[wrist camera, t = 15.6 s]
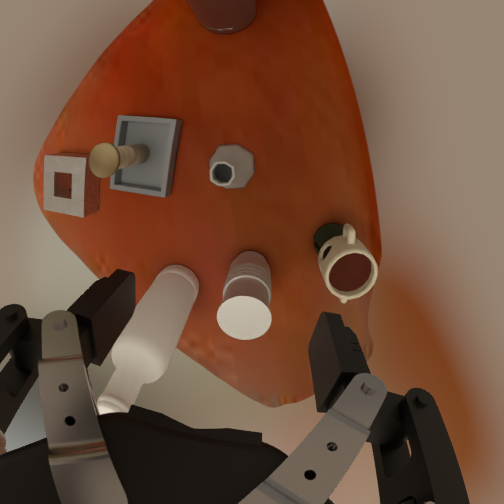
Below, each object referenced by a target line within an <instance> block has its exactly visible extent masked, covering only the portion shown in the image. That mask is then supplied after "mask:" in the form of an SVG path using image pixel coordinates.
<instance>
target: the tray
mask: <svg viewBox="0 0 504 504" xmlns="http://www.w3.org/2000/svg"><path fill="white" fill-rule="evenodd" d="M181 125H182V120H177V119H166V118H154V117H140V116H118V119H117V126H116V132H115V140H114V146H125V145H136V144H144V145H146V146H147V147H148V148H149V150H150V156H149V159H148V160H147V161H146V162H145V163H141V164H137V165H133V166H129V167H125V168H121V169H118V170H117V171H116V172H115V173H114V174H113V175H111V179H110V189H115V190H121V191H128V192H134V193H140V194H146V195H153V196H159V197H164V198H165V197H167V196H168V195H170V194H171V191H172V183H173V175H174V168H175V162H176V155H177V149H178V142H179V137H180V131H181Z"/></svg>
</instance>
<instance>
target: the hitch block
mask: <svg viewBox="0 0 504 504" xmlns="http://www.w3.org/2000/svg"><path fill="white" fill-rule="evenodd" d="M89 157H90V154H82V153H66V152H60V153H54V154H49V155H45V161H44V210H49V211H54V212H59V213H64V214H69V215H74V216H79V217H86V216H88V215H89V214H91V213H93V212H95V211H97V210H99V186H100V177H97V176H96V175H94V174H93V172H92V171H91V169H90V166H89ZM70 173H71V174H72V191H70Z"/></svg>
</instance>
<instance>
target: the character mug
mask: <svg viewBox="0 0 504 504" xmlns="http://www.w3.org/2000/svg"><path fill="white" fill-rule="evenodd" d="M314 239H315V241H316V243H317V246H318V249H317V248H316V246H315V245H314V247H315V249H316V251H317V253H318V264H319V269H320V271H321V272H322V275H323V279H324V281H325V283H326V286H327V288H328V289H329V290H330V292H331V293H332V294H334V295H335V296H337V297H339V299H340V301H341V302H342V303H346V302H347V299H348V300H350V299H354V298H359V297H360V296H362V295H364V294H365V293H367V292H368V291H369V290H370V289H371V288H372V286H373V285H374V284H375V281H376V278H377V276H378V267H377V264H376V262H375V260H374V258H373V256H372V255H371V253H370V252H369V251H368V250H367V248H366V247H365V246H364V245H363V244H362V242H361V241H359V240H358V239H357V238H355V230H354V228H353V227H352V226H351V225H350V224H348V223H347V224H345V225H344V226H342V225H339V224H335V223H332V224H326V225H324V226H323V227H321V228H320V229H319V230H318V231H317V233H316V235H315V236H314Z"/></svg>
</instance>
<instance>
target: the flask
mask: <svg viewBox="0 0 504 504" xmlns="http://www.w3.org/2000/svg"><path fill="white" fill-rule="evenodd" d="M209 168H210V170H209V173H210V181H211V182H213V183H214V184H216V185H218V186H222V187H224V188H225V189H232V188H244V187H245V186H246V185H247V183H248V182H249V180H250V179H251V177H252V176H253V174H254V173H255V170H254V154H253V153H251V152H250V151H248V150H246V149H245V148H243V147H242V146H240V145H239V144H230V145H219V146H218V148H217V149H216V151H215V152H214V154H213V155H212V157H211V159H210V160H209Z"/></svg>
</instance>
